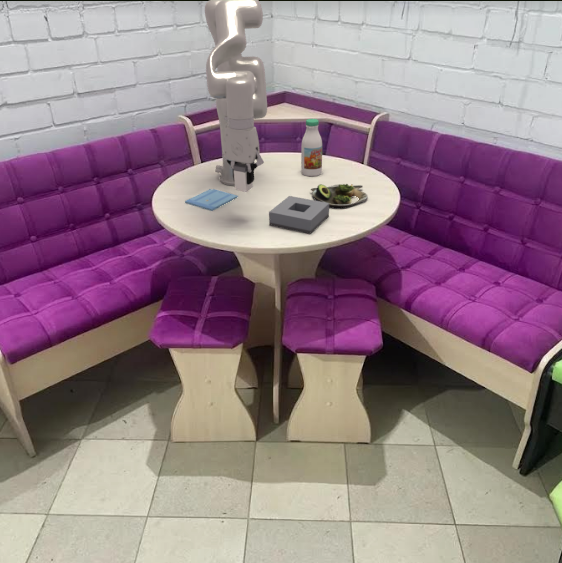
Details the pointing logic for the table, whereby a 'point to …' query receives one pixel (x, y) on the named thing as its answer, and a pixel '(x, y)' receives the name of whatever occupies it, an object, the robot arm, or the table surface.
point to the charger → (241, 177)
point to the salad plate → (338, 195)
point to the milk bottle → (311, 149)
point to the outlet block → (299, 214)
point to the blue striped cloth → (211, 199)
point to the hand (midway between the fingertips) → (243, 180)
